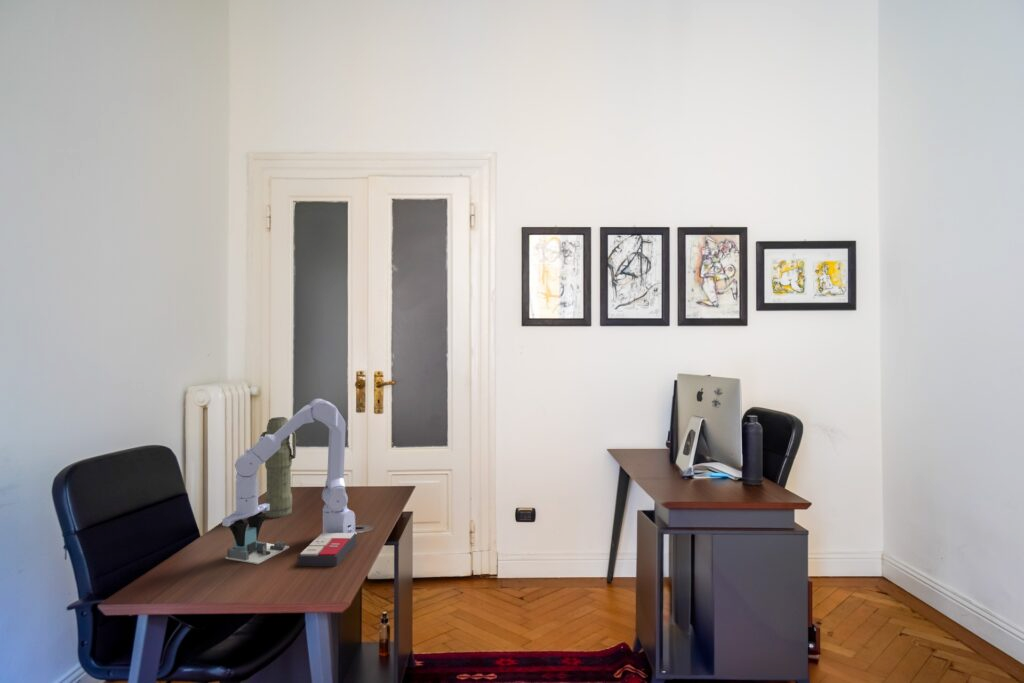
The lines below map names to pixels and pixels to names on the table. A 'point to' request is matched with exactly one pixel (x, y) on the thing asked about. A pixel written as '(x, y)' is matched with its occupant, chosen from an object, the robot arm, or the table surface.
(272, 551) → the board
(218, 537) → the table surface
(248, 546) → the pale blue cube
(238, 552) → the end holder
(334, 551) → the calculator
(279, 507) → the thermos
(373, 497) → the table surface
